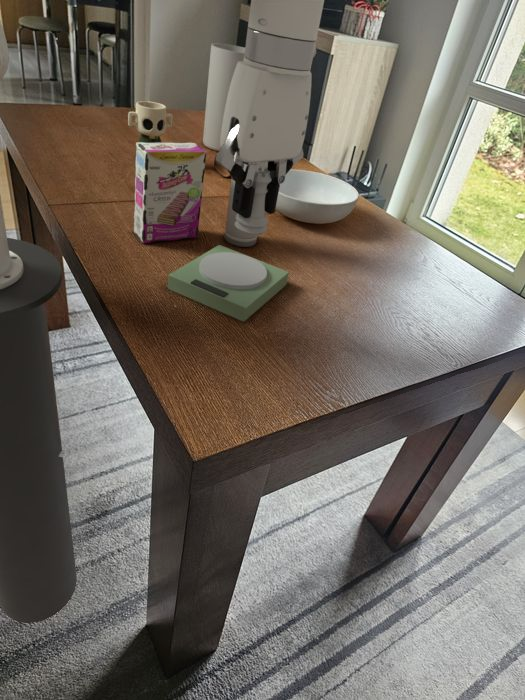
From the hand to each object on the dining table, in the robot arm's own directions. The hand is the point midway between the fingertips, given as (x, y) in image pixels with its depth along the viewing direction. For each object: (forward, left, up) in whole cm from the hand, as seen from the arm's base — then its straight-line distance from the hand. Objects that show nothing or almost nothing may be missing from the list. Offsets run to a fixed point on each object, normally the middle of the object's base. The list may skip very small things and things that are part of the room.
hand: (253, 210), depth 66 cm
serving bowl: (+41, +25, -17) cm, 51 cm away
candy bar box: (+6, +28, -17) cm, 33 cm away
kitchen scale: (+5, +8, -17) cm, 19 cm away
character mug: (+26, +66, -17) cm, 73 cm away
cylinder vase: (+54, +71, -17) cm, 90 cm away
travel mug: (+18, +21, -17) cm, 32 cm away
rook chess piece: (0, 0, -3) cm, 3 cm away
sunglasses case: (+47, +51, -17) cm, 71 cm away
